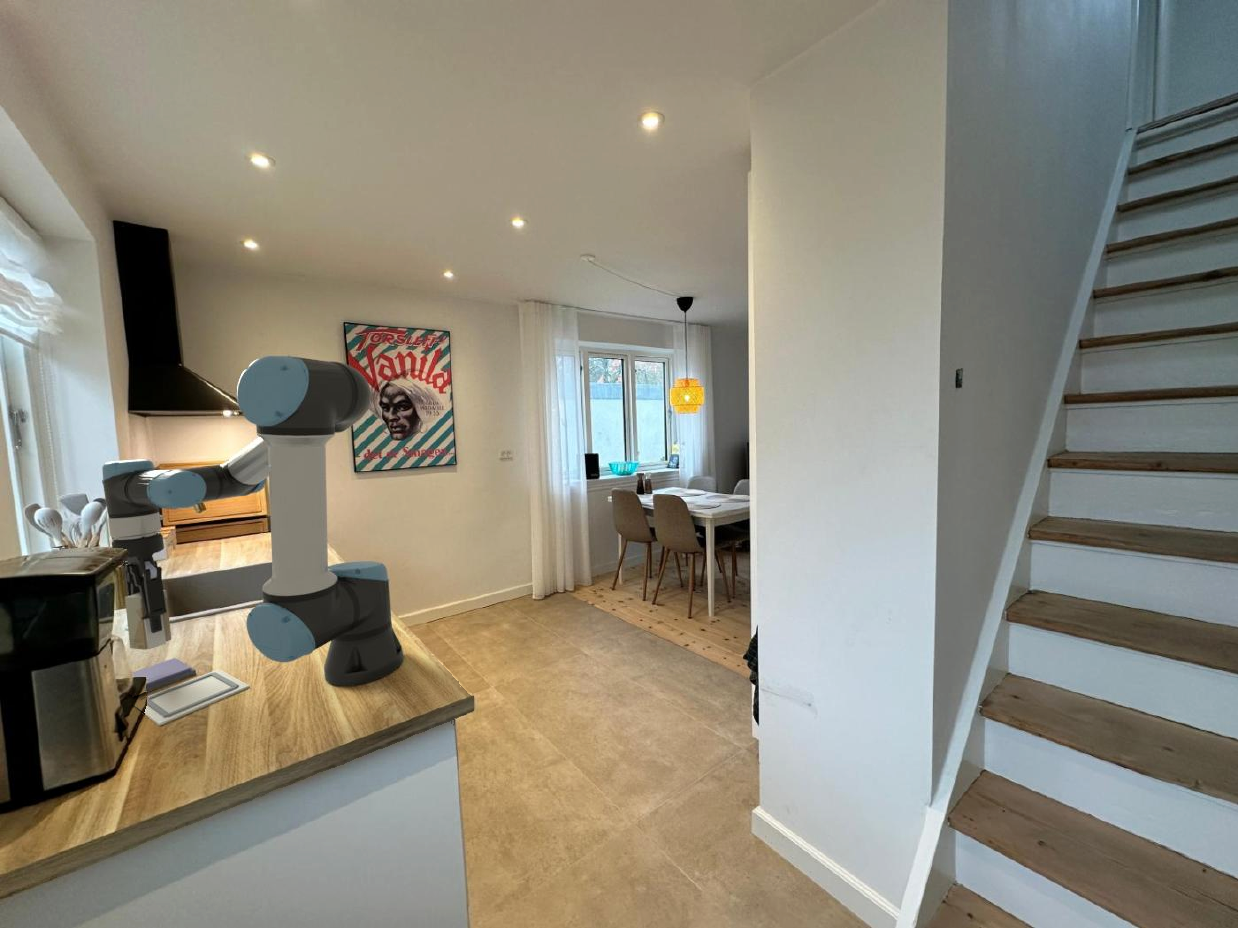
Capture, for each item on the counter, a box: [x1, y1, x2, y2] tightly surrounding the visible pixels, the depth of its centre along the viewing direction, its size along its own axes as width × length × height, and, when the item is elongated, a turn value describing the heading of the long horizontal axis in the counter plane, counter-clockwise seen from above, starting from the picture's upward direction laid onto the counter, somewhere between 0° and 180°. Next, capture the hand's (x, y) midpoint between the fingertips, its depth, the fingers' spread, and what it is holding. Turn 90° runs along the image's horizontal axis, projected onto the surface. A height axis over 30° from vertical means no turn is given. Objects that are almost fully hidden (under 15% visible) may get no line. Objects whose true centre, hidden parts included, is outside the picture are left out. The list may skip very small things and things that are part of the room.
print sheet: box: [144, 668, 250, 727], centre depth 97 cm, size 14×14×1 cm
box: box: [124, 589, 172, 651], centre depth 102 cm, size 5×4×11 cm
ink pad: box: [131, 657, 197, 693], centre depth 104 cm, size 10×10×2 cm
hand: (151, 642), depth 103 cm, fingers closed on box, 5 cm apart
